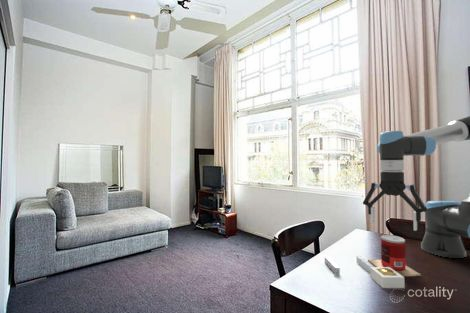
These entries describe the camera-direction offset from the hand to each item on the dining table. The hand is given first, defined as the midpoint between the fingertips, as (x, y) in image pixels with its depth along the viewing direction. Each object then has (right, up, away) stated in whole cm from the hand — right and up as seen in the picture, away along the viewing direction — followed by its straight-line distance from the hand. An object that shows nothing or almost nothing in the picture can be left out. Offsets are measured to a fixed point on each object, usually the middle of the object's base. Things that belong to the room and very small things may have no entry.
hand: (393, 226), depth 88 cm
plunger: (-9, -15, -10) cm, 20 cm away
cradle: (-17, -16, 0) cm, 24 cm away
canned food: (0, -16, 0) cm, 16 cm away
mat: (0, -16, 0) cm, 16 cm away
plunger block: (-9, -16, -10) cm, 21 cm away
